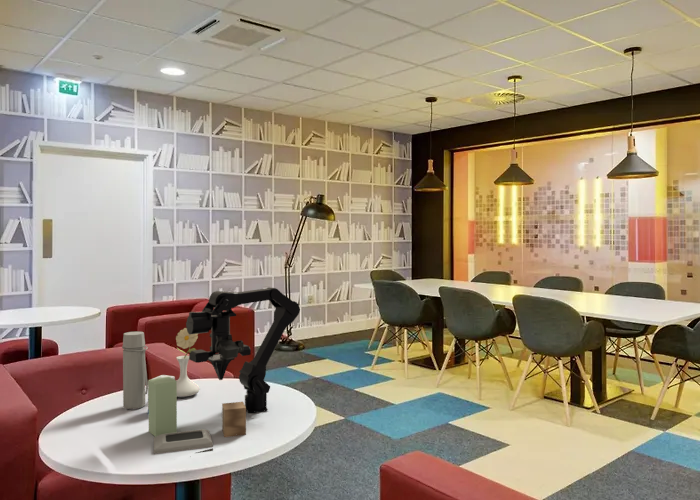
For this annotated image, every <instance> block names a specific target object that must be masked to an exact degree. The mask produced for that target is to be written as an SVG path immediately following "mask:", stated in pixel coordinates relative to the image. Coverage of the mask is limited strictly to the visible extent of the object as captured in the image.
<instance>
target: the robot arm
mask: <svg viewBox="0 0 700 500" xmlns="http://www.w3.org/2000/svg"><path fill="white" fill-rule="evenodd" d="M265 301H269V302H270V304H271V306H273V307H274V308H275V309H274V312H273V321H272V323H271V325H270V327H269V329H268V332H267V333H266V334H265V336H264V339H263V341H262V342H261V344H260V346H259V348H258V350H257V352H256V354H255V355H254V358H253V359H252V360H251V361H247V360H246V361H244V362H243V365H242V368H241V369H240V370H239V371H238V373H239V375H238V379H239V380H238V381H239V383H240V384H241V385H242V387H243V390H246V393H245V394H246V395H244V405H245V407H246V413H249V414H251V413H260V412H267V411H269V410H268V406H267V405H268V404H267V402H268V401H267V396H268V395H267V394H268V393H269V392H270V389H271V385H269V384H268V383H267V382H266V381H265V378H266V375H267V365H268V363H269V361H270V360H271V357H272V355H273V354H274V351H275V349H276V347H277V346H278V345H279V344H278V343H279V342H280V340H281V338H282V336H283V334H284V332H285V330H286V329H287V328H288V327H289V326H290V325H291V324H292V323H294V322H295V320H296V319H297V317H298V315H299V314H300V312H301V308H300V305H299V303H298V302H297V301H294V300H292V299H291V298H289V297H288V296H287V295H285V294H284V293H282V292H281V291H280V290H279V289H278V288H277V287H270V286H268V287H267V288H259V289H252V290H244V291H238V292H237V291H233V292H232V291H224V290H222V291H221V290H216V291H213V292H212V293H211V294H210V296H209V298H208V302H207V303H206V305H205V306H204V307H203V309H202V310H201V311H190V312H188V317H187V319H186V322H185V328H186V329H187V332H188V333H189V334H198V335H199V334H207V333H209V332H210V331H211V332H210V333H209V337H210V339H211V343H210V344H211V346H209V351H206V350H204V349H201V348H200V349H196V350H194V351H191V352H189V354H188V356H189V361H192V362H193V363H197V364H199V363H205V362H207V361H208V362H210V364H211V365H212V366H213V369H214V371H215V374H216V376H217V378H218V380H219V381H222V380H224V376H225V373H226V371H227V368H228V366H229V364H230V363H231V362H232V361H235V359H236V358H238V356H239V354H240V355H241V356H242V357H245V356H250V355H251V354H252V353H251V351H252V349H251V347H250V346H249V345H247V344H245V343H244V341H243V340H235V341H233V336H232V334H231V324H230V323H231V321H230V320H231V317H237V313H235V311H233V310H232V309H234V308H236V307H238V306H241V305H247V304H251V303H258V302H265Z"/></svg>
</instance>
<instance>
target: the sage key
mask: <svg viewBox="0 0 700 500" xmlns="http://www.w3.org/2000/svg"><path fill="white" fill-rule="evenodd" d="M147 382H148V392H147V402H148V401H149V414H148V432H149V433H150V434H152V436H154V437H156V436H159V435H161V434H167V433H175V432H178V431H177V428H178V427H177V425H178V423H177V422H178V420H177V418H178V413H177V412H178V411H177V404H178V403H177V401H178V399H177V398H178V397H177V380H176V379H175V380H174V379H172V378H170V377H163V378H157V379H153V378H151V379H147Z"/></svg>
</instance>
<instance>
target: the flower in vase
mask: <svg viewBox="0 0 700 500" xmlns="http://www.w3.org/2000/svg"><path fill="white" fill-rule="evenodd" d="M198 335H199V334H189V333H188V332H187V328H186V327H184V328H183V329H181V330H179V332H178V333H177V335H176V336H175V340H176V346H177V347H176V349H177V350H178V351H180V352H181V353H184V354H185V355H180V356H176V358H175V359H176V360H177V362H178V364H179V378H178V379H177V380H176V381H177V398H178V397H179V398H185V397H190V396H194V395H196V394H198V393H199V391H200V390H201V388H200V386H199V385H198V384H197V383H196V382H194V381H193V380H191V379H190V378H189V376H188V372H187V371H188V363H189V361H190V360H189V354H188V353H190V352H191V351H194V350H197V349H196V348H195V347H193V346H194V345H195V343H196V342H197V341H198V340H197V339H198V338H199V336H198ZM178 347H179V348H178ZM191 347H192V348H191ZM180 348H182V349H188V350H187V352H185V351H184V350H181V349H180Z"/></svg>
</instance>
